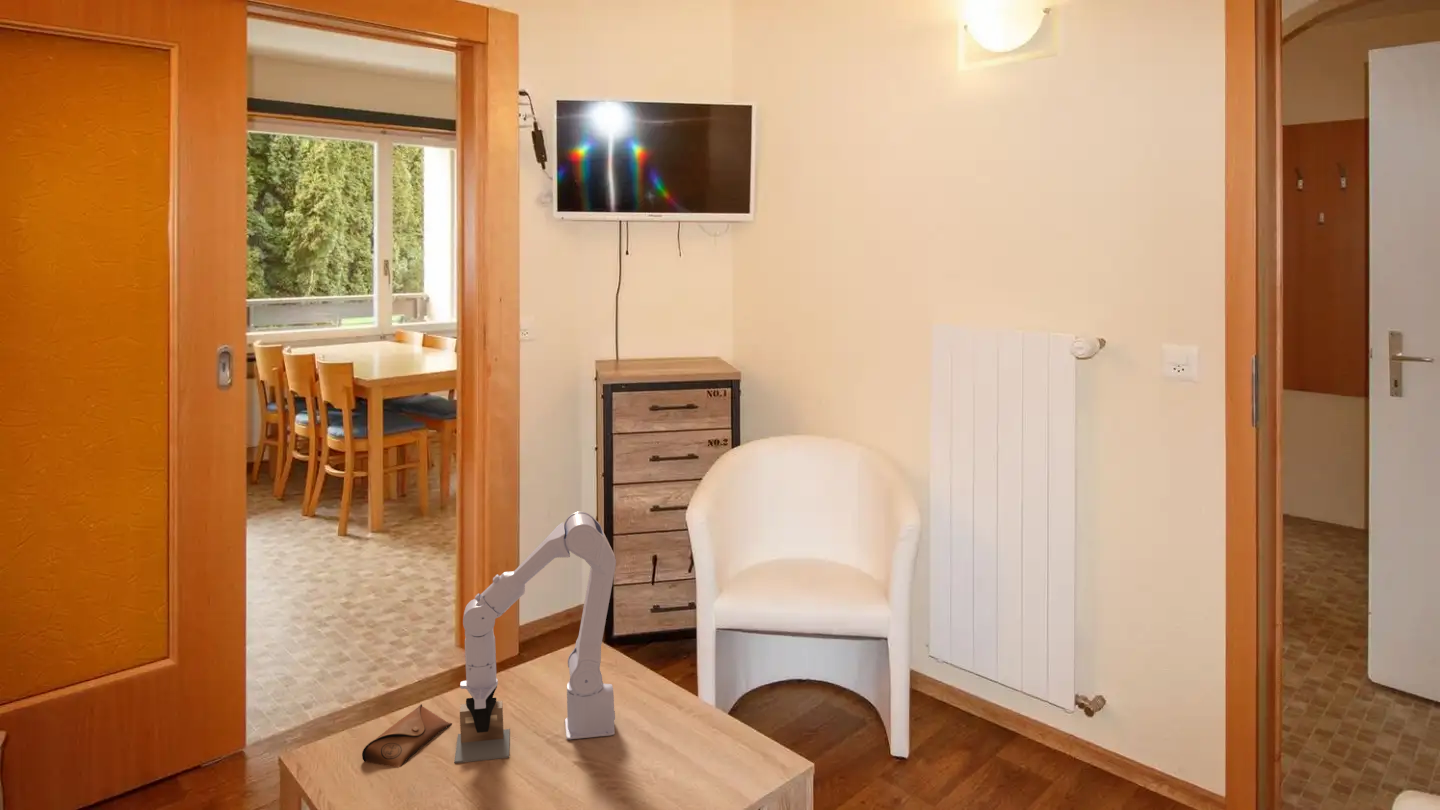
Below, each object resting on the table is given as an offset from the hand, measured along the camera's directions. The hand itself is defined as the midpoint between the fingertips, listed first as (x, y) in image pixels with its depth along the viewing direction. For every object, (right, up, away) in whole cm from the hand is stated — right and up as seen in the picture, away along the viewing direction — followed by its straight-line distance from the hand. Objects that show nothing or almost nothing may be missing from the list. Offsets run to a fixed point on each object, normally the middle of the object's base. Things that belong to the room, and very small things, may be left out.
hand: (483, 725), depth 180 cm
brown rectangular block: (0, -2, 0) cm, 2 cm away
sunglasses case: (-14, -4, -1) cm, 15 cm away
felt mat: (+1, -3, -2) cm, 4 cm away
